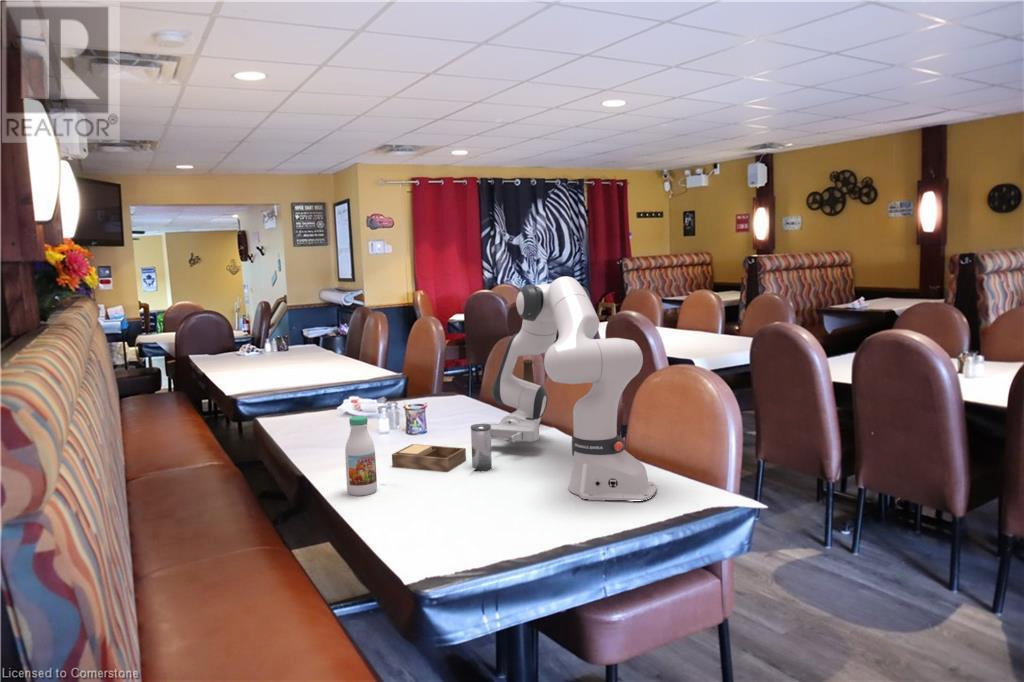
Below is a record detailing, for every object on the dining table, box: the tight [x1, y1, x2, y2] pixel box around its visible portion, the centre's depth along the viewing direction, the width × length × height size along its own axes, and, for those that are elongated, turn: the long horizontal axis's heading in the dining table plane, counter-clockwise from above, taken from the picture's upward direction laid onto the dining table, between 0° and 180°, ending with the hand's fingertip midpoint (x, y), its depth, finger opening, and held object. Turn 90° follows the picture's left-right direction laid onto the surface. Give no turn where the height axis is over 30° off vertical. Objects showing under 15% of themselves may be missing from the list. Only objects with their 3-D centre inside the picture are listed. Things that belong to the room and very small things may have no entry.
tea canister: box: [470, 423, 493, 473], centre depth 205 cm, size 6×6×13 cm
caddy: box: [391, 443, 467, 473], centre depth 210 cm, size 18×12×4 cm, turn 68°
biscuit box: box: [399, 444, 433, 456], centre depth 211 cm, size 6×9×4 cm, turn 158°
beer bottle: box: [522, 359, 541, 425], centre depth 256 cm, size 8×8×24 cm
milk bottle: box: [344, 415, 378, 497], centre depth 187 cm, size 8×8×20 cm
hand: (496, 438), depth 215 cm, fingers open, 8 cm apart
